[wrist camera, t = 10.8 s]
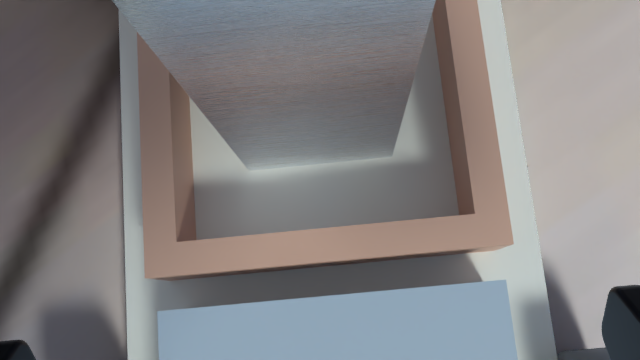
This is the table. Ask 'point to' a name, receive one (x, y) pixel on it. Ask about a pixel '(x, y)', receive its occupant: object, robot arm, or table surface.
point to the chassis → (339, 224)
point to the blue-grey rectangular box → (291, 71)
